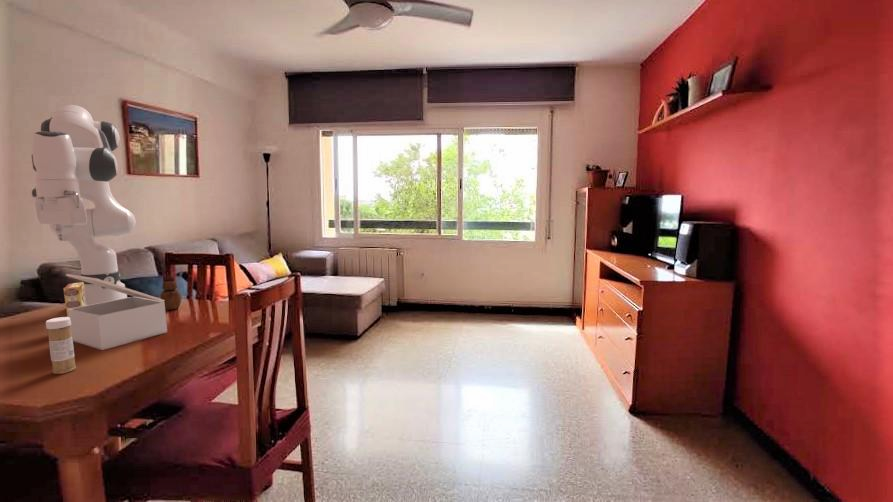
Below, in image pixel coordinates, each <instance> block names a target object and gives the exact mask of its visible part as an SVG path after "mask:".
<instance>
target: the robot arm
mask: <svg viewBox="0 0 893 502" xmlns="http://www.w3.org/2000/svg"><path fill="white" fill-rule="evenodd" d="M120 138H121V137H120V133H119V130H118V129H117V128H116V126H115V124H113V123H111V122H107V121H97V120H94V118H93V116H92V115H91V113H90V112H89V111H88V110H87V109H85V108H84V107H82V106H80V105H77V104H66V105H64V106H61V107H59V109H57V110H56V111H55V112H54V113H53V115H52V117H50V118H48V119H45V120H44V121H43V122H41V124H40V128H39V131H36V132H35V133H33V136H32V143H31V144H32V146H31V148H32V151H31V153H32V154H31V160H32V161H31V163H32V169H33V170H34V171H35V172H36V175H35V186H34V188H32V189H31V191H30V193H31V197H32V198H33V199H34V206H35V212H36V216H37V221H39V223H40V224H41V225H49V227H50V230H51V231H52V232H53V234H55V235H56V236H57V240H58V242H59V241H60V242H62V241H63V242H68V243H69V245H71V246H72V247H73V248H74V250H75V251H76V253H77V255H78V259H79V262H80V268H81V269H80V270H81V274H80V276H84V277H91V278H97V279H100V280H103V281H106V282H110V283H113V284H116V285H119V286H122V287H125V288H126V285H125V283H123V282H121V273H120V270H119V267H118V260H117V253H116V251H115V250H114V249H113V248H111V247H108V246H106V245H102V244H99V243H98V242H97V241H96V240H95V238H100V237H101V238H104V237H105V238H106V237H107V238H108V237H119V236H120V237H121V236H123V235H129V234H131V233H132V232H133V231H134V230H135V228H136V226H137V221H136V216H135V215H134V214H133V212H132V211H130V210H129V209H127V208H125V207H123V205H121V203H119V202H118V201H117V200H116V198H115V197H114V195H113V194H112V191H111V188H110V181H111V180H113V179H114V178H115V177H116V176H118V175H117V174H118V170H119V163H118V161H117V158H116V156H115V155H114V153H113V151H115V150H117V148H118V146H119V145H120ZM83 199H84V200H87V201H90V202H92V203H93V204H94V206H95V207H94V208H86V206H85V202H84V200H83ZM82 282H83V283H84V291H85V299H86V306H87V305H92V304H97V303H102V302H108V301H113V300H118V299H123V298H128V295H127V294H124V293H121V292H118V291H114V290H111V289H108V288H105V287H101V286H98V285H95V284H91V283H88V282H85V281H82V280H79V283H82Z"/></svg>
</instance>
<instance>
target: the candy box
mask: <svg viewBox="0 0 893 502" xmlns="http://www.w3.org/2000/svg"><path fill="white" fill-rule="evenodd" d="M63 295H64V303H65V309H66V315H67V316H66V317H69V315H68V309H71V308H76V307H81V306H86V299H85V291H84V283H83V282H82V283H80V282H75V283H74V282H73V283H68V284H66V286H65V287H63Z"/></svg>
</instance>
